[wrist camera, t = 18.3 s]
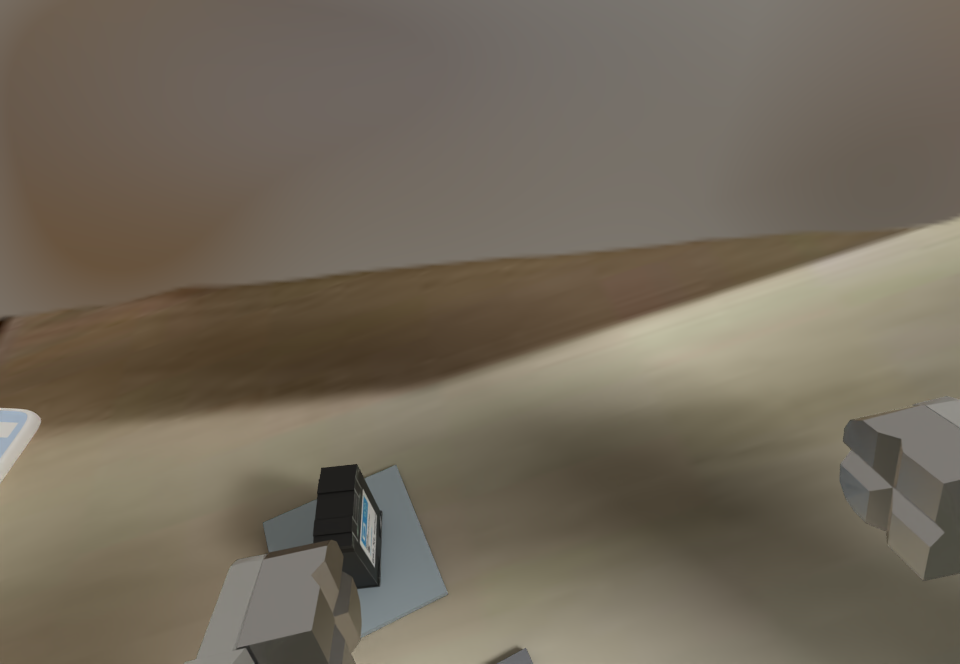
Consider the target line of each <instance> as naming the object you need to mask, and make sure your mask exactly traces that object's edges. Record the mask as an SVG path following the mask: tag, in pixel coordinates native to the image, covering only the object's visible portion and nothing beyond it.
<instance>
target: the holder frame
mask: <svg viewBox="0 0 960 664" xmlns="http://www.w3.org/2000/svg"><path fill="white" fill-rule="evenodd" d="M497 664H533V662H532V660H531V658H530V656H529V654H528V651H527V649H526V648H525V649H523V650H521V651H519V652H517V653H515V654H514V655H512V656H510V657H508V658H506V659H504V660H503V661H501V662H499V663H497Z"/></svg>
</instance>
